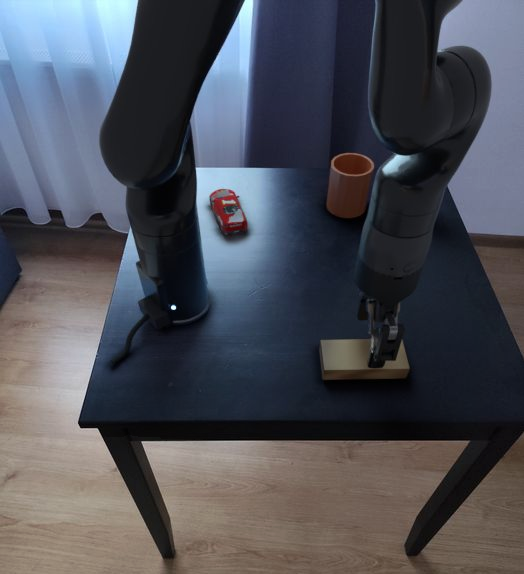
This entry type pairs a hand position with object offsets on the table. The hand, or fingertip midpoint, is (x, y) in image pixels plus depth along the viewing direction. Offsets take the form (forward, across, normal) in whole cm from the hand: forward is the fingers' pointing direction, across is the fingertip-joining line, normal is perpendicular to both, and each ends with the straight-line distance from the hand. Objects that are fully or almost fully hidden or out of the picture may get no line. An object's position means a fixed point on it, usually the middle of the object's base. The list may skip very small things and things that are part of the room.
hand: (369, 341), depth 67 cm
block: (+5, 0, 0) cm, 5 cm away
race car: (+5, -36, -20) cm, 42 cm away
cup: (+5, -38, +3) cm, 39 cm away
